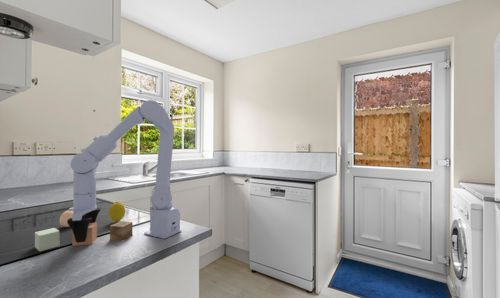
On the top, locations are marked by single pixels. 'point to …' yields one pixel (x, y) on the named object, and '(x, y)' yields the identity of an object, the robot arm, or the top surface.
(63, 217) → the egg
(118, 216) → the lemon
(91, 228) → the terracotta block
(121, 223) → the walnut block
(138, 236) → the top surface
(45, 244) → the sage block
